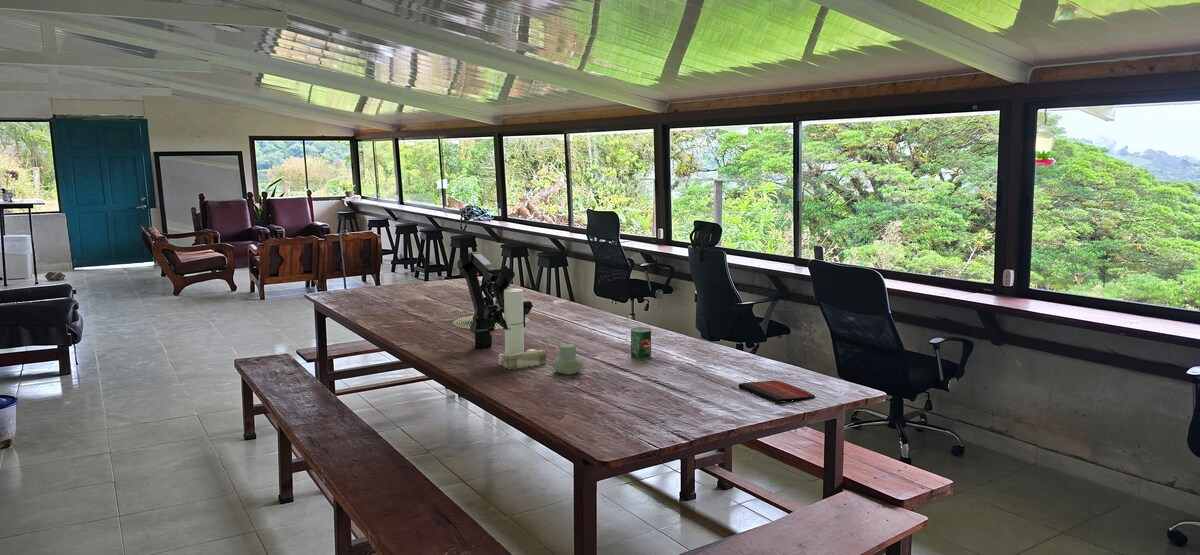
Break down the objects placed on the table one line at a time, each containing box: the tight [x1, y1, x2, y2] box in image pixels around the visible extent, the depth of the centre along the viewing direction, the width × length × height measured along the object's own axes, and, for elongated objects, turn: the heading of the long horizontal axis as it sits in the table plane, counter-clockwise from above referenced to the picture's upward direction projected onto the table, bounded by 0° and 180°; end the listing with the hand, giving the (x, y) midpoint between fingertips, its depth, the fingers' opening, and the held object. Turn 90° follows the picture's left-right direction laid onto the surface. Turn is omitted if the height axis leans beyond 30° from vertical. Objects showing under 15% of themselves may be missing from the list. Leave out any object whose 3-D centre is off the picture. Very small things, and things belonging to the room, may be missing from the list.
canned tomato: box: [630, 326, 652, 360], centre depth 316 cm, size 8×8×11 cm
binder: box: [738, 380, 816, 405], centre depth 269 cm, size 16×2×21 cm
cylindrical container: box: [503, 288, 525, 354], centre depth 311 cm, size 7×7×25 cm
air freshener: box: [552, 343, 584, 376], centre depth 295 cm, size 11×8×10 cm
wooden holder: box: [497, 348, 547, 370], centre depth 308 cm, size 10×15×5 cm, turn 123°
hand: (515, 328), depth 310 cm, fingers closed on cylindrical container, 7 cm apart
